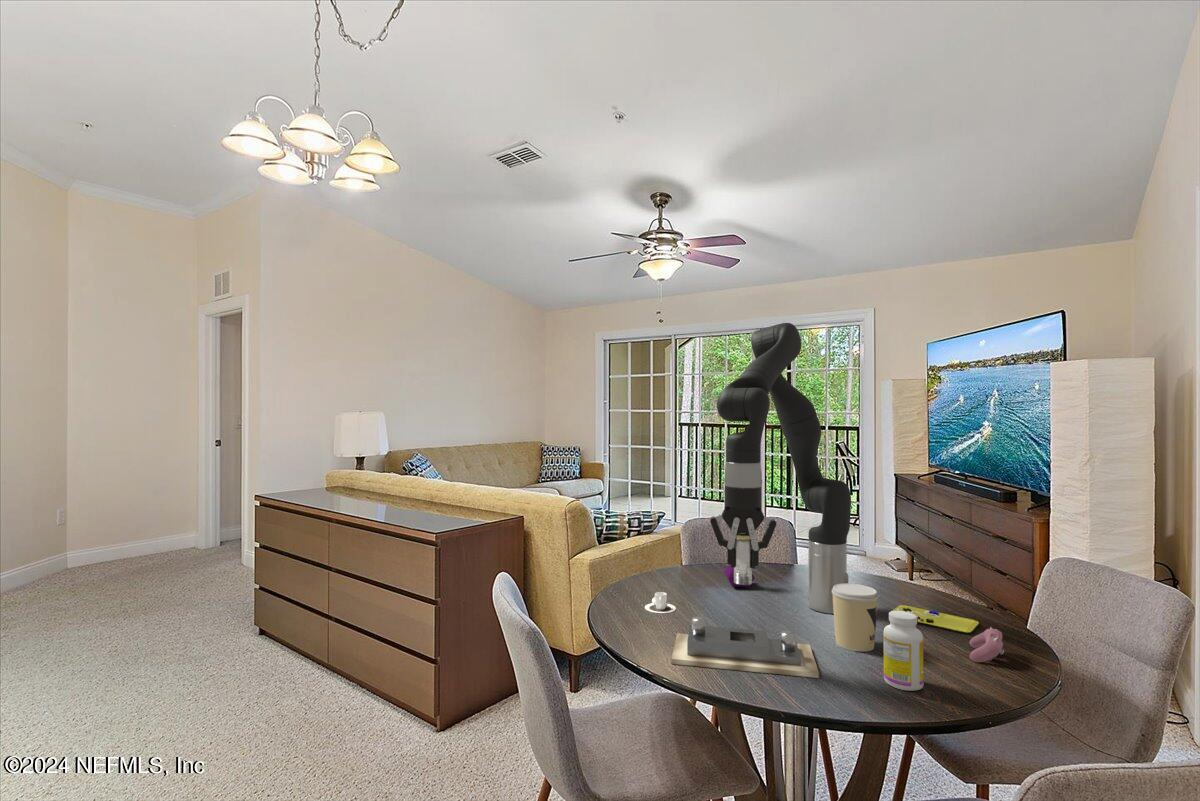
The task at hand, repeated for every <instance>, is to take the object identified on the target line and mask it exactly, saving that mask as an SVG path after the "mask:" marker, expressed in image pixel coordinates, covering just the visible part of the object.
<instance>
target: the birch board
mask: <svg viewBox="0 0 1200 801" xmlns="http://www.w3.org/2000/svg"><path fill="white" fill-rule="evenodd" d="M688 634H689V633H688ZM688 634H687V633H678V632H677V633H676V638H675V642H674V644H673V645H674V647H673V649H672V655H671V659H670V660H671V661H670V662H671V665H678V666H679V665H680V666H688V667H689V666H690V667H702V668H708V669H709V668H710V669H711V668H713V669H719V670H720V669H721V670H730V671H731V670H733V671H742V672H751V673H752V672H754V673H763V674H773V675H774V674H775V675H785V676H792V677H793V676H794V677H795V676H796V677H804V678H813V679H814V678H816V679H819V678H820V671H819V668H818V666H817V663H816V660H815V657H814V654H813V651H812V649H811V648H812V647H811V646H810V644H805V643H797V646H798V649H799V653H800V656H801V666H798V665H788V664H777V663H766V662H755V661H744V660H734V659H723V658H712V657H701V656H691V655H687V640H688Z"/></svg>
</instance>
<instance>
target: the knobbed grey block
mask: <svg viewBox="0 0 1200 801" xmlns="http://www.w3.org/2000/svg"><path fill="white" fill-rule="evenodd" d="M797 644H798V643H797V640H796V633H795V632H794V631H791V630H782V631H781V632H780V638H769V637H768V632H767V630H757V629H747V628H746V629H745V628H732V627H723V626H722V627H721V626H711V625H710V626H708V625H706V618H705V617H703V616H693V617H691V624H690V625H689V630H688V640H687V655H691V656H701V657H712V658H723V659H734V660H744V661H755V662H766V663H777V664H788V665H798V666H801V656H800V653H799V649H798V646H797Z"/></svg>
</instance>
